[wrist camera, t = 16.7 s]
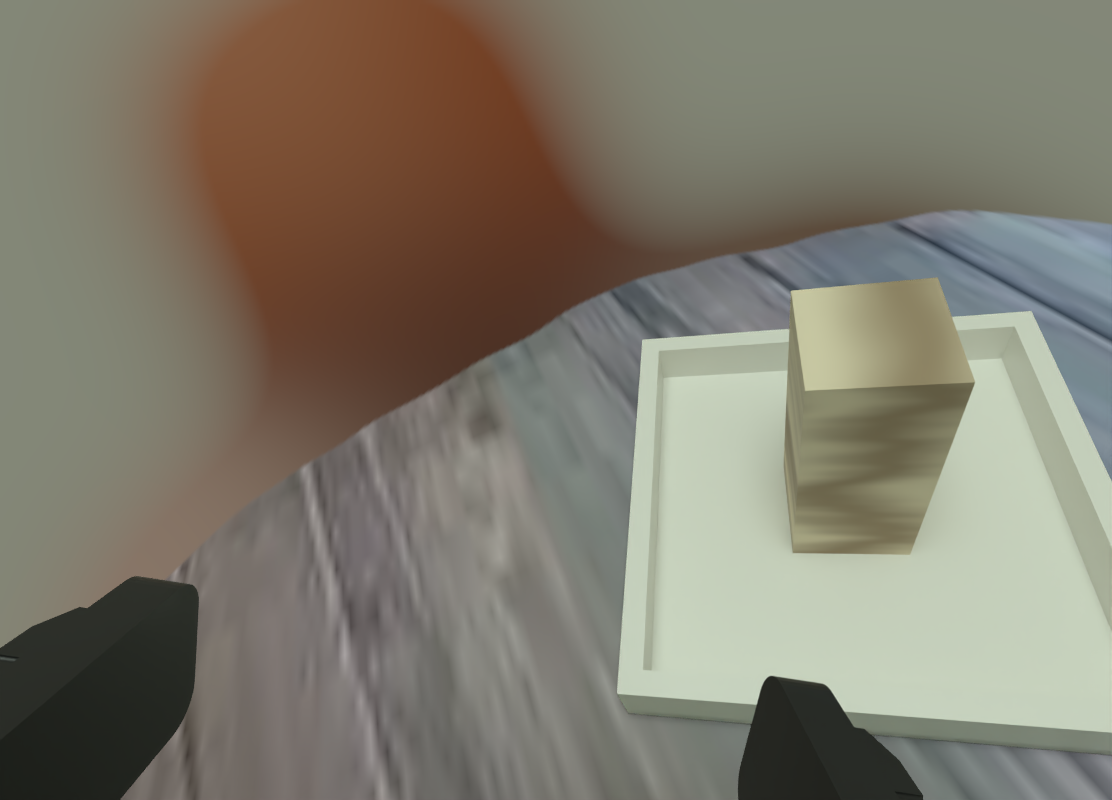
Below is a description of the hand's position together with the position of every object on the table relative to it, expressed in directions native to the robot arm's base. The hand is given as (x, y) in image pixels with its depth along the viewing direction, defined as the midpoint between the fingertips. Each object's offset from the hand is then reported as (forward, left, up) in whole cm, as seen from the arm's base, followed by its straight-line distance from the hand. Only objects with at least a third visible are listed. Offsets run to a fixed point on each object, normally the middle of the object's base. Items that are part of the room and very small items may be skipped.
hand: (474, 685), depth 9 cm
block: (0, +17, -21) cm, 27 cm away
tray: (0, +17, -21) cm, 27 cm away
